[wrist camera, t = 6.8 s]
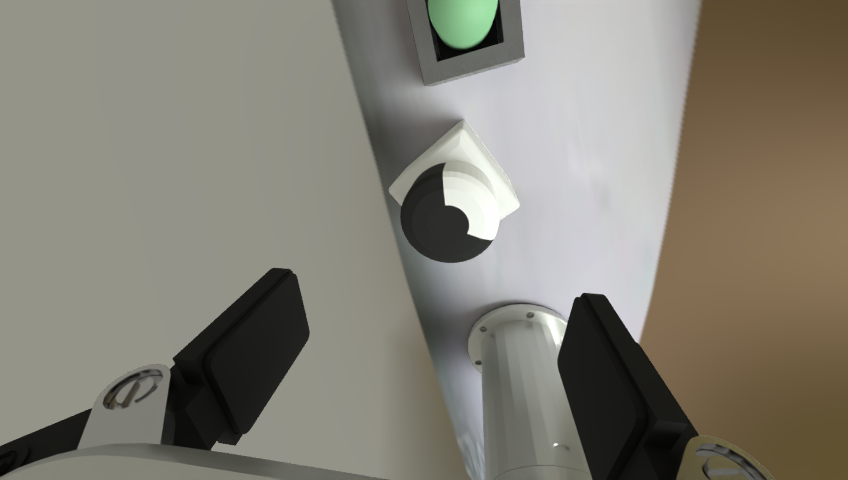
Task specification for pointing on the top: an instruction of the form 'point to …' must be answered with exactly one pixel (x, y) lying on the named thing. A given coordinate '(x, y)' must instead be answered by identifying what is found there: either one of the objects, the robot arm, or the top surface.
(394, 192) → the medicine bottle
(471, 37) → the button
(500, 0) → the button pedestal
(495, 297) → the top surface
